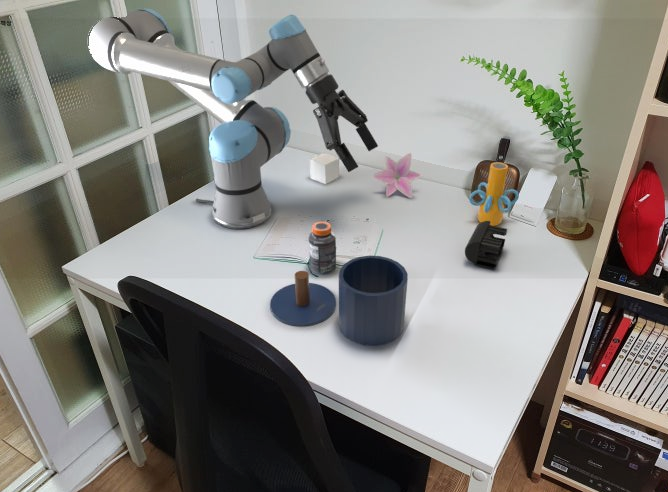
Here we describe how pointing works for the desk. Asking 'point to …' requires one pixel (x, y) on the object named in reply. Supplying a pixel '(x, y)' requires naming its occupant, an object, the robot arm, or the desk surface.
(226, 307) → the desk surface
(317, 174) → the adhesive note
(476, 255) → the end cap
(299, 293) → the lid
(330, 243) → the pill bottle
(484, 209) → the yellow tubular piece
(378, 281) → the canister
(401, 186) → the lily
